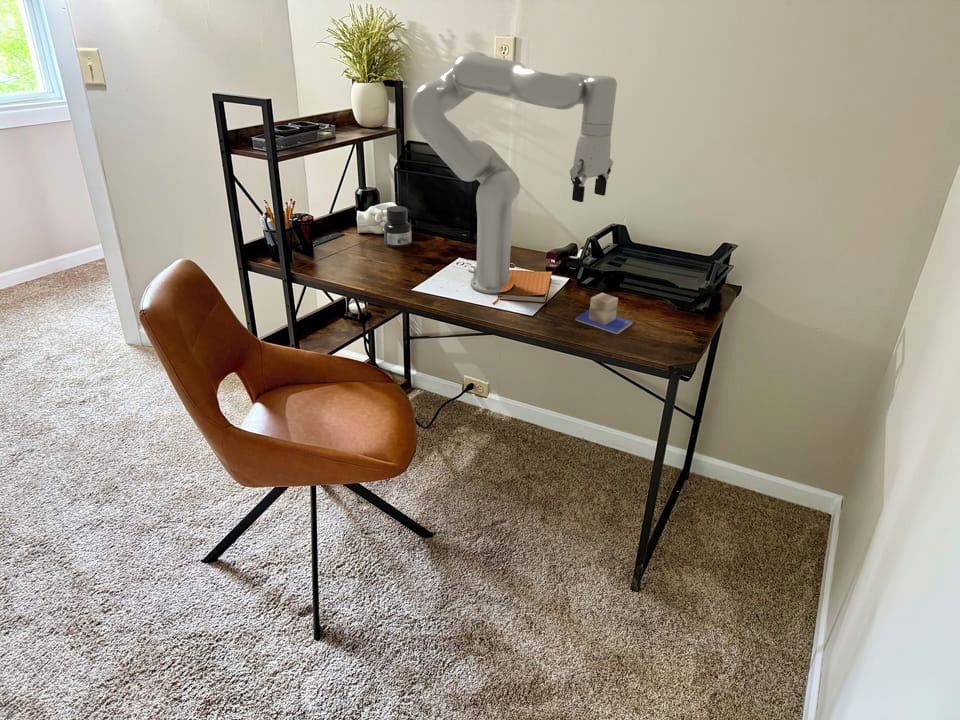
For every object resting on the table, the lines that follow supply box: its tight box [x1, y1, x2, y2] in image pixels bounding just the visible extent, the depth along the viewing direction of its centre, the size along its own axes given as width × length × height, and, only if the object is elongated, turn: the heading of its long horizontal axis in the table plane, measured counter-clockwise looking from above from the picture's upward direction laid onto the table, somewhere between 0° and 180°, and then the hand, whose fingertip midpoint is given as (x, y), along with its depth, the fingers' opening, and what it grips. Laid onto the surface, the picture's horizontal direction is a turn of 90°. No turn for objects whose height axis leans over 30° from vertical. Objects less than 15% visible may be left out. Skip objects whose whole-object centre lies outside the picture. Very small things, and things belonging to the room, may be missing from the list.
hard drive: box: [575, 308, 633, 335], centre depth 175 cm, size 2×8×12 cm
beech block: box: [589, 292, 619, 325], centre depth 173 cm, size 5×5×6 cm
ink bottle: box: [383, 205, 412, 249], centre depth 221 cm, size 10×9×12 cm
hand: (588, 197), depth 175 cm, fingers open, 9 cm apart
